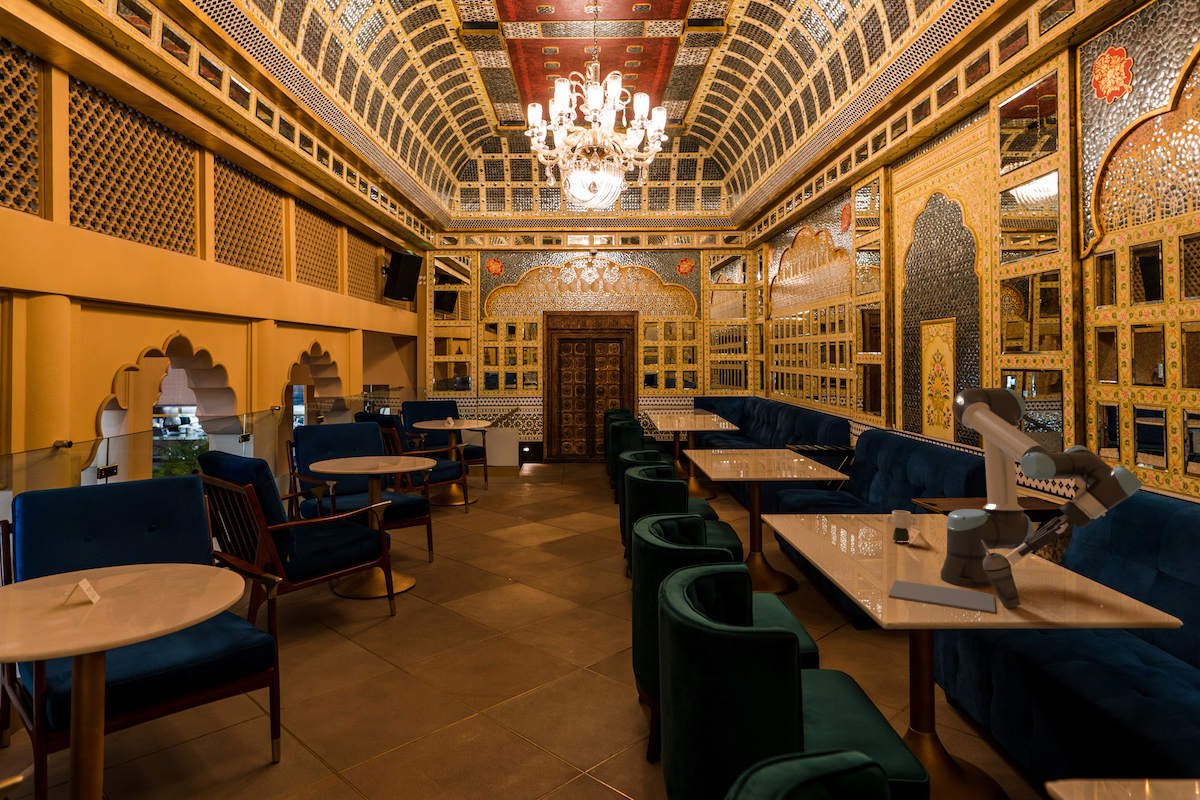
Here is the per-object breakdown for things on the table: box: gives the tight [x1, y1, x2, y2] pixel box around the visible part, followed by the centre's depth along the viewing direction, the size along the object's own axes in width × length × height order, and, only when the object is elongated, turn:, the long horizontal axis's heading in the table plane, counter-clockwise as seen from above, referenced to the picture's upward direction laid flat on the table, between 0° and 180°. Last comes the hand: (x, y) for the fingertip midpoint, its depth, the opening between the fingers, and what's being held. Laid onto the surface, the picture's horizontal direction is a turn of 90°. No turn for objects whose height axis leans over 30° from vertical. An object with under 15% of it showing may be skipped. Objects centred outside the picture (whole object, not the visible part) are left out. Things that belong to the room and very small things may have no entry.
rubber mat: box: [888, 579, 996, 614], centre depth 198 cm, size 28×18×1 cm, turn 60°
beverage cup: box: [981, 540, 1021, 609], centre depth 190 cm, size 7×7×20 cm
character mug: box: [886, 509, 917, 542], centre depth 267 cm, size 11×7×13 cm, turn 69°
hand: (1009, 560), depth 188 cm, fingers closed
